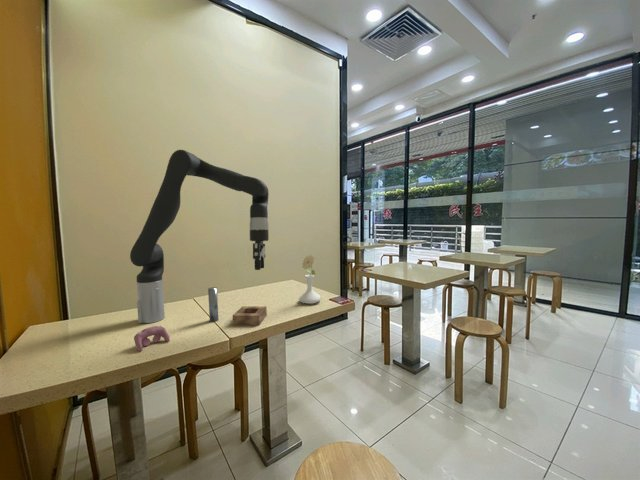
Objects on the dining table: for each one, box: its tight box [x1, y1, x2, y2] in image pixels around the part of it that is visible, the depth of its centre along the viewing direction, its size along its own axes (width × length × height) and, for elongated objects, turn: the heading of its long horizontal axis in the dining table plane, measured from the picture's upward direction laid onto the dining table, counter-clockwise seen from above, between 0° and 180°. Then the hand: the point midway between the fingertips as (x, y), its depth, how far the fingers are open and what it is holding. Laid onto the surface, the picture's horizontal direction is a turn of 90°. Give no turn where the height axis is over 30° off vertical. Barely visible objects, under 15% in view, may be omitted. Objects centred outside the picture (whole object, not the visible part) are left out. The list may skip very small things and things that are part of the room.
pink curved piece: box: [133, 325, 170, 352], centre depth 90 cm, size 10×5×7 cm, turn 141°
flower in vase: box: [298, 254, 322, 305], centre depth 132 cm, size 13×11×25 cm
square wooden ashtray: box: [232, 305, 268, 326], centre depth 111 cm, size 11×11×4 cm
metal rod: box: [207, 286, 219, 323], centre depth 111 cm, size 4×4×14 cm
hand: (259, 269), depth 106 cm, fingers open, 8 cm apart
